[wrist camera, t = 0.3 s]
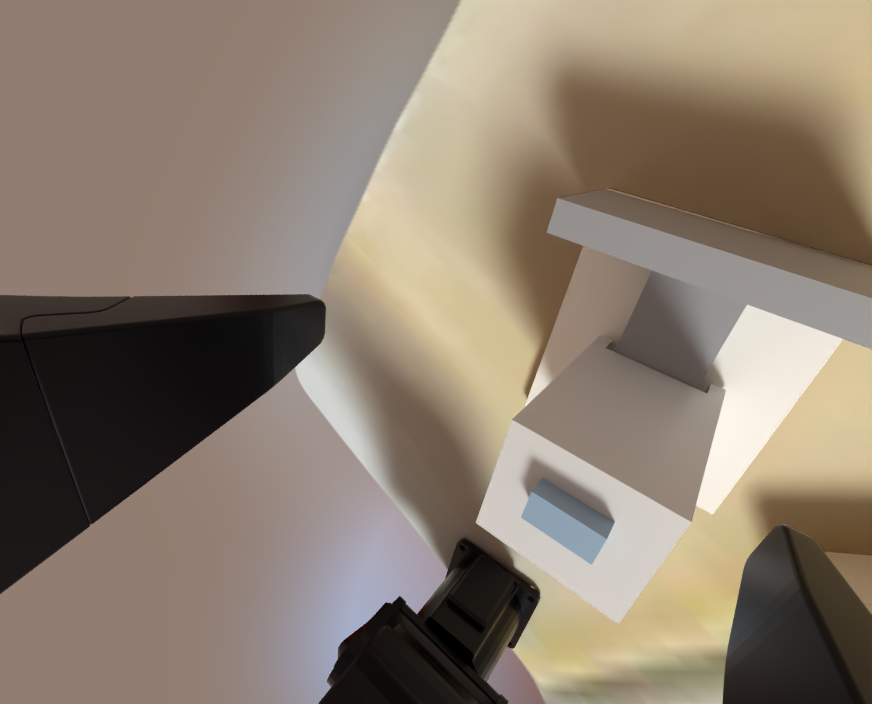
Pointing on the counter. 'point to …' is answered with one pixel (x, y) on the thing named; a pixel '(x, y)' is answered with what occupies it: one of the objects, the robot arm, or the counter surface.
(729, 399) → the board
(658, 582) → the counter surface
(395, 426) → the counter surface
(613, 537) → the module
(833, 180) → the counter surface
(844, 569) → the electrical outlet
